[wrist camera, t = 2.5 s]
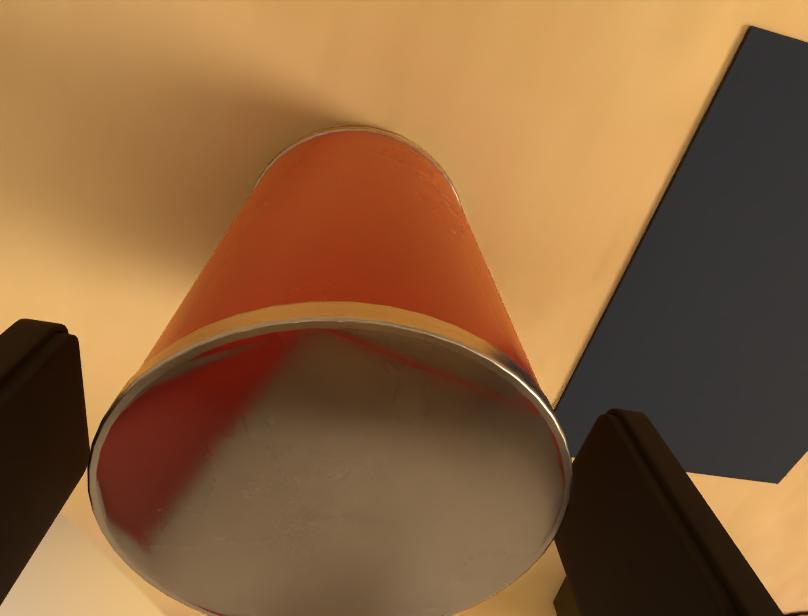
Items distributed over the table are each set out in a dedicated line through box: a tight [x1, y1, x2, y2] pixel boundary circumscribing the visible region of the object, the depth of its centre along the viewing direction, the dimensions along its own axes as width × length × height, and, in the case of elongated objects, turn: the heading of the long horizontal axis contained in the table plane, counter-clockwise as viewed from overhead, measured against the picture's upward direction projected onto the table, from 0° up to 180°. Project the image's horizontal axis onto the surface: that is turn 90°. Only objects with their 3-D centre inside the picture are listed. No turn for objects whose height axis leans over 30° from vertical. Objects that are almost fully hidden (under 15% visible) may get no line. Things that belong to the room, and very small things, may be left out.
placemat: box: [554, 26, 808, 484], centre depth 18 cm, size 16×12×1 cm
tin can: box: [87, 126, 573, 616], centre depth 11 cm, size 7×7×10 cm
